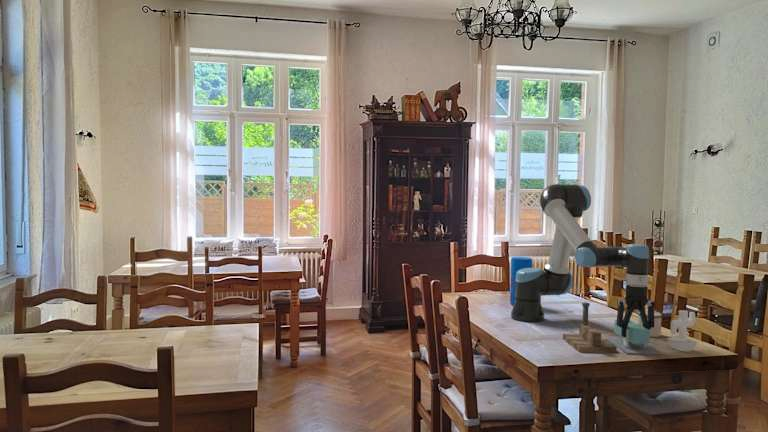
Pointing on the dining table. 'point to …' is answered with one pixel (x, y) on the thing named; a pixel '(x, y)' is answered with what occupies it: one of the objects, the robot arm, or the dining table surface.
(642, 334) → the mint green knobbed block
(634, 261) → the robot arm
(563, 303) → the dining table surface
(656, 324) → the teacup with lid
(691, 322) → the figurine
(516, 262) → the tall blue block
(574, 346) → the wooden stand with peg
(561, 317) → the dining table surface
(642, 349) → the rubber mat
